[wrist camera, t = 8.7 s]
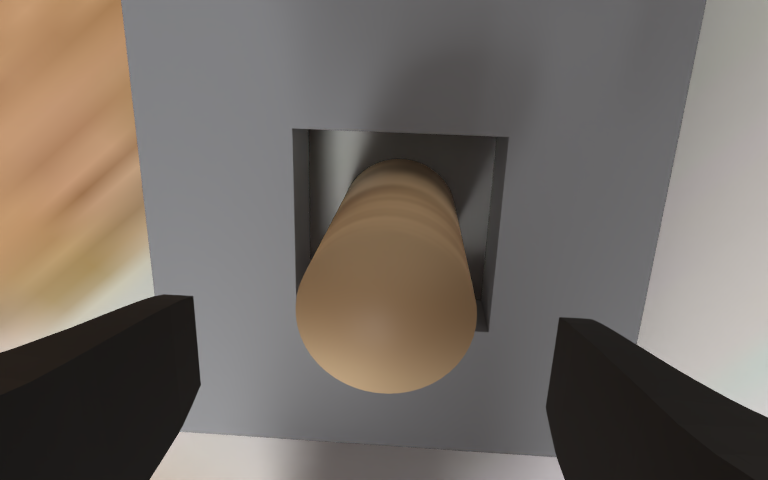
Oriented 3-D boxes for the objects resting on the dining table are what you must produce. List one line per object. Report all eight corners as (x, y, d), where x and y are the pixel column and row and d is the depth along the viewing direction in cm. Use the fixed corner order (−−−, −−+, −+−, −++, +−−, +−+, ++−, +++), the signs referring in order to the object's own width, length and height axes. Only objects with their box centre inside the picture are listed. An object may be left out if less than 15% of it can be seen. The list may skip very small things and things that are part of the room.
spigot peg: (447, 272, 20) (462, 403, 13) (339, 259, 20) (291, 382, 13) (462, 165, 19) (490, 240, 11) (347, 152, 19) (299, 218, 12)
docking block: (591, 416, 22) (612, 461, 19) (196, 391, 23) (170, 430, 20) (673, -29, 17) (714, -42, 14) (156, -42, 17) (114, -56, 15)
